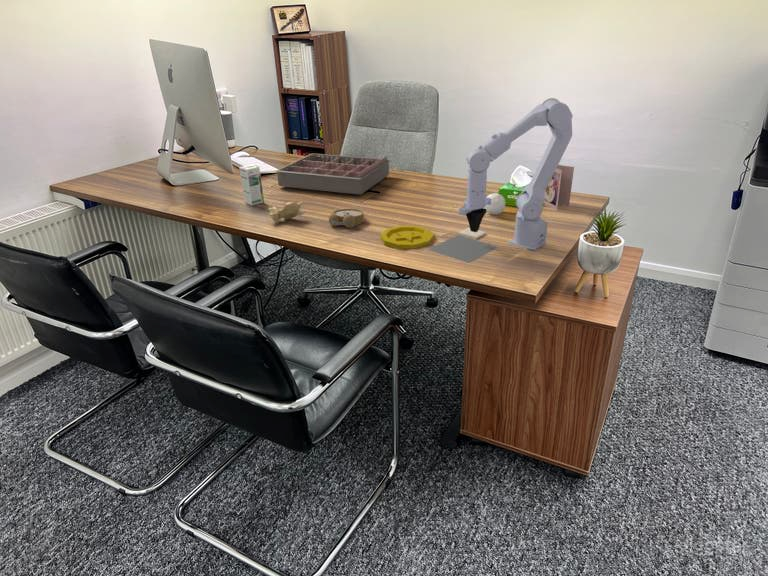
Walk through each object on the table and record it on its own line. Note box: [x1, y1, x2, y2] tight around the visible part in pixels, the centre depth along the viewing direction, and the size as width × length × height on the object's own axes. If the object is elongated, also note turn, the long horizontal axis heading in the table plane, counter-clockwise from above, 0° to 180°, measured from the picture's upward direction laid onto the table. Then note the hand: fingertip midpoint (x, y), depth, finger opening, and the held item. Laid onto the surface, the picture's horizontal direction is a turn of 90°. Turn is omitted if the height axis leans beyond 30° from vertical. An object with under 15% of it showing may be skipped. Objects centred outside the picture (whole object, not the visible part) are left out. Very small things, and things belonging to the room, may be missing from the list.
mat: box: [427, 234, 499, 264], centre depth 176 cm, size 16×16×1 cm
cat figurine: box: [268, 201, 306, 224], centre depth 202 cm, size 8×7×12 cm
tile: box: [457, 226, 487, 240], centre depth 187 cm, size 7×2×6 cm
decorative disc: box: [380, 225, 435, 250], centre depth 184 cm, size 17×18×2 cm
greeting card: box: [543, 164, 575, 211], centre depth 209 cm, size 11×7×15 cm, turn 18°
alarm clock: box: [328, 208, 365, 229], centre depth 199 cm, size 11×5×15 cm
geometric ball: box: [483, 192, 506, 216], centre depth 203 cm, size 8×8×8 cm
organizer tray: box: [274, 153, 392, 196], centre depth 243 cm, size 32×40×10 cm
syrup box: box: [239, 164, 265, 206], centre depth 220 cm, size 6×6×14 cm
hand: (474, 231), depth 178 cm, fingers closed
